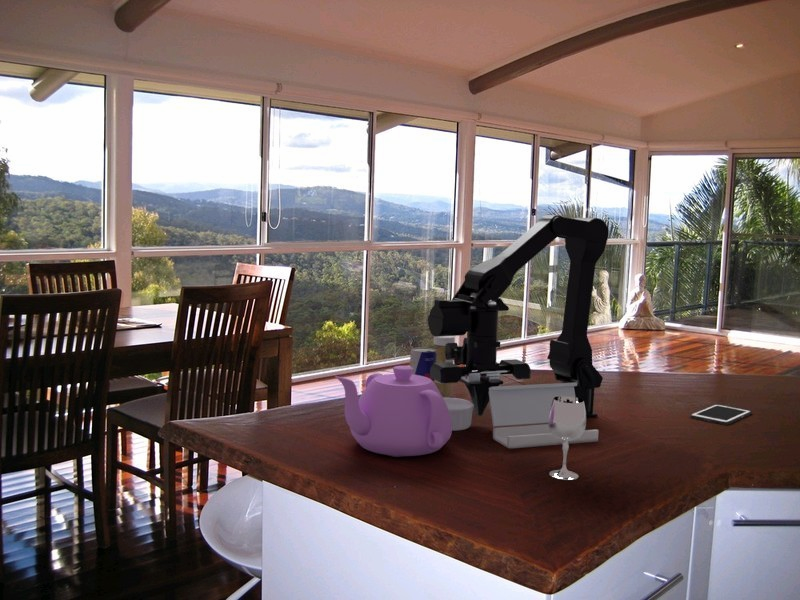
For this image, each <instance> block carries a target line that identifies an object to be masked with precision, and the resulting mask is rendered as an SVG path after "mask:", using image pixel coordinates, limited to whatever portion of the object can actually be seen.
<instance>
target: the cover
mask: <svg viewBox="0 0 800 600" xmlns="http://www.w3.org/2000/svg"><path fill="white" fill-rule="evenodd" d="M574 386H577V382H575V383H563V382H558V383H555V382H554V383H540V384H539V383H538V384H522V385H521V384H518V385H517V384H515V385H499V386H496V387H490V388H489V407H490V414H491V420H492V421H491V422H492V427H493V428H495V427H509V426H523V425H537V424H548V415H549V410H550V406H551V403H552V400H553V398H554V397H557V396H571V397H575V391H574Z"/></svg>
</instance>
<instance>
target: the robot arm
mask: <svg viewBox="0 0 800 600" xmlns="http://www.w3.org/2000/svg"><path fill="white" fill-rule="evenodd" d="M609 234H610V231H609V225H607V224H606V222H605V221H604V220H603V219H601V218H596V217H574V218H570V217H565V216H562V215H560V214H559V215H558V214H557V215H556V214H544V215H543V216H541V217H540V218H539V219H538V221H537V222H536V223H535V224H534V225H532V226H531V227H530V228H529V229H528V230H526V231H525V232H524V233H523V234H522V235H521V236H519V237H518V238H517V239H516V240H515V241H513V243H511V244H510V245H509V246H508V247H507V248H505V249H504V250H503V251H502V252H501V253H499V254H497V255H496V256H494V257H492V258H489V259H487V260H485V261H482V262H480V263H479V264H477V265H475V266H473V267H471V268H470V269H469V270H468V271H467V272H466V273H465V275H464V281H463V283H462V284H461V285H460V287H459V288H458V290H457V291H456V293H455V294H454V296H453V297H452V298H451V299H448V300H447V299H446V300H445V299H441V298H440V299H437V298H436V299H434V301H433V303H434V304H433V306H432V307H431V309H430V311H429V315H427V323H428V324H427V325H428V330H429V332H430V334H431V335H432V336H433V338H434V337H441V336H454V337H456V336H457V337H459V336H460V337H461V336H465V335H466V337H463V340H462V341H463V342H462V343H463V344H462V345H458V343H457V342H455V343H447V344H446V346H445V357H446V360H453V363H450V362H446V363H434V364H433V365H432V366H431V368H430V377H431V378H433V379H435V380H436V381H438V382H440V383H452V384H453V383H454V384H455V383H458V382H460V383H462V384H464V385H465V387H466V388H467V390H468V393H469V396H470V399H471V402H472V403H473V404H474V408H473V410H474V412H475V415H476V416H478V417H481V416H483V414H484V412H485V410H486V408H487V406H488V404H489V403H490V400H489V388H490V387H496V386H502V385H503V384H504V381H503V380H501V376H503V375H512V376H513V377H514V378H515V379H516V380H527V379H531V372H532V370H531V367H530V365H529V364H528V363H527V362H525V361H523V360H520V359H517V358H514V359H513V358H512V359H501V360H500V361H499V362H497V354H498V353H497V351H498V348H501V341H500V340H498V334H499V333H498V329H499V327H498V326H499V312H507V311H509V310H510V307H509V306H508V305H507V304H506V303H505V302H504V301H503V299H502V298H501V296H502V295H503V294H504V293H505V292H506V291H507V290H508V289H509V287H510V286H511V285H512V282H513V279H514V276H515V275H516V274H517V273H518V271H520V270H521V269H522V268H523V267H524V266H526V265H527V264H528V263H529V262H530V261H531V260H532V259H534V258H535V256H537V255H538V254H539V253H540V252H542V251H543V250H544V249H545V248H547V247H548V246H549V245H550V244H551V243H552V242H553V241H554V240H556V239H557V238H560V239H564V247H565V250H566V253H567V255H568V259H569V270H568V280H567V288H566V296H565V303H564V304H565V305H564V313H563V321H562V329H561V333H560V334H559V336H558V337H557V339H556V340H555V339H550V341H549V353H548V355H547V358H546V359H547V360H549V367H550V368H551V370H552V371H553V374H554V378H555V380H556V381H557V382H560V383H575V382H577V386H574V391H575V397H577V398H580V399H583V400H584V405H585V410H586V418H588V417H589V418H590V417H598V413H597V412H595V411H594V402H595V389H597V388H598V389H600V388H601V385H602V382H603V379H604V378H603V376H602V374H600V373H601V372H599V371H598V370H597V368H596V367H595V366H594V365H593V349H592V345H591V344H590V343H591V342H590V340H589V337H588V328H589V321H590V312H591V304H592V298H593V297H592V296H593V287H594V280H595V271H596V265H597V262H598V261H599V260H600V258H601V257H602V255H603V254H604V252H605V250H606V247H607V243H608V238H609ZM460 365H461V366H460Z"/></svg>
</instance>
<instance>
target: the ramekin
mask: <svg viewBox="0 0 800 600" xmlns="http://www.w3.org/2000/svg"><path fill="white" fill-rule="evenodd" d="M443 399H444V401H445V403H446V405H447V408H448V411H449V414H450V418H451V425H452V431H453V432H454V431H463V430H466V429H468V428H470V427H471V425H472V417H473V410H474V404H473V402H472V401H470V400H468V399H464V398H457V397H449V398H443Z"/></svg>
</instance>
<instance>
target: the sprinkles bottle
mask: <svg viewBox="0 0 800 600" xmlns="http://www.w3.org/2000/svg"><path fill="white" fill-rule="evenodd" d="M455 338H456V336H441V337H434V336H433V349H435V350H436V353H437V361H436V363H446V362H450V363H453V364H454V360H446V357H445V346H446V344H447V343H456V342H455V341H456V340H455ZM452 385H453V383H440V382H438V381H436V386H437V388H438V390H439V392H440V393H441V395H442V397H443V398H452V397H453V394H452V388H453V386H452Z"/></svg>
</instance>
